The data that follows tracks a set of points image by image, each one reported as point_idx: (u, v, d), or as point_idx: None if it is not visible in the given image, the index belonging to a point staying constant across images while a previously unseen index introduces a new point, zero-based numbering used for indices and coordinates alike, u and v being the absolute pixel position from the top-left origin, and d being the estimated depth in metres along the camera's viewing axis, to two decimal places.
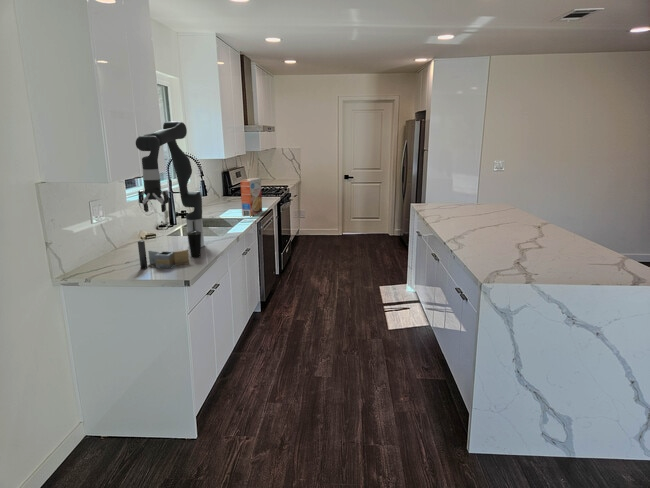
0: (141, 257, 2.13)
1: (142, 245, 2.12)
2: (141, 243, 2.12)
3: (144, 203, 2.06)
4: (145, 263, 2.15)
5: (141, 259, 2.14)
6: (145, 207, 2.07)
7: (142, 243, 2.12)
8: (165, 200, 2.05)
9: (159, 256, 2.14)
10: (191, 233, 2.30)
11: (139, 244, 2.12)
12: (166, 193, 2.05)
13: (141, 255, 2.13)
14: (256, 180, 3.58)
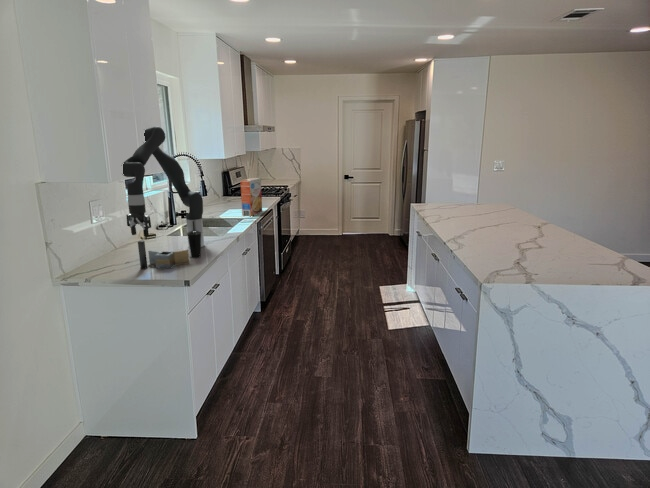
0: (141, 257, 2.13)
1: (142, 245, 2.12)
2: (141, 243, 2.12)
3: None
4: (145, 263, 2.15)
5: (141, 259, 2.14)
6: None
7: (142, 243, 2.12)
8: None
9: (159, 256, 2.14)
10: (191, 233, 2.30)
11: (139, 244, 2.12)
12: None
13: (141, 255, 2.13)
14: (256, 180, 3.58)
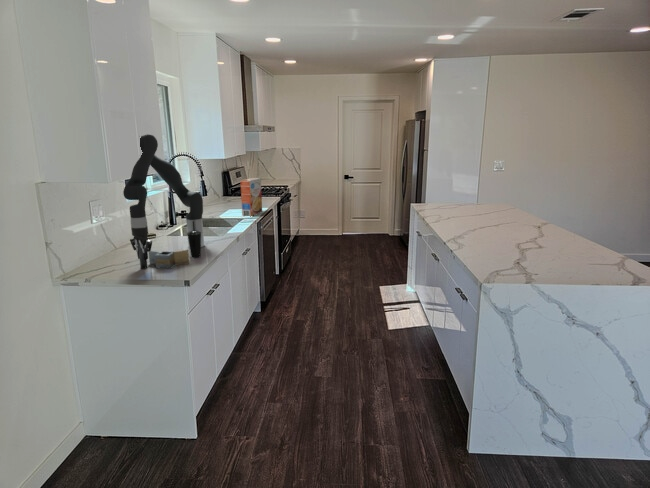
0: (141, 257, 2.13)
1: None
2: None
3: None
4: (145, 263, 2.15)
5: (141, 259, 2.14)
6: None
7: None
8: None
9: (159, 256, 2.14)
10: (191, 233, 2.30)
11: (139, 244, 2.12)
12: None
13: (141, 255, 2.13)
14: (256, 180, 3.58)
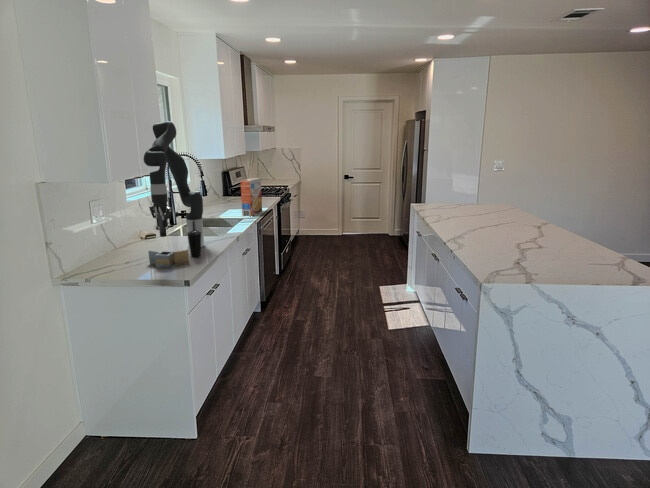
0: (160, 225, 2.12)
1: None
2: None
3: None
4: (164, 231, 2.14)
5: (160, 227, 2.12)
6: None
7: None
8: None
9: (159, 256, 2.14)
10: (191, 233, 2.30)
11: (159, 211, 2.11)
12: None
13: (160, 223, 2.12)
14: (256, 180, 3.58)
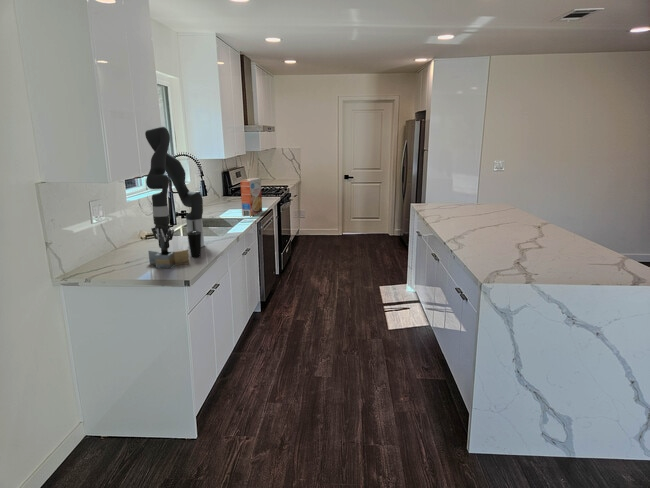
0: (162, 246, 2.15)
1: None
2: None
3: None
4: (166, 252, 2.16)
5: (162, 248, 2.15)
6: None
7: None
8: None
9: (159, 256, 2.14)
10: (191, 233, 2.30)
11: (161, 233, 2.13)
12: None
13: (162, 244, 2.15)
14: (256, 180, 3.58)
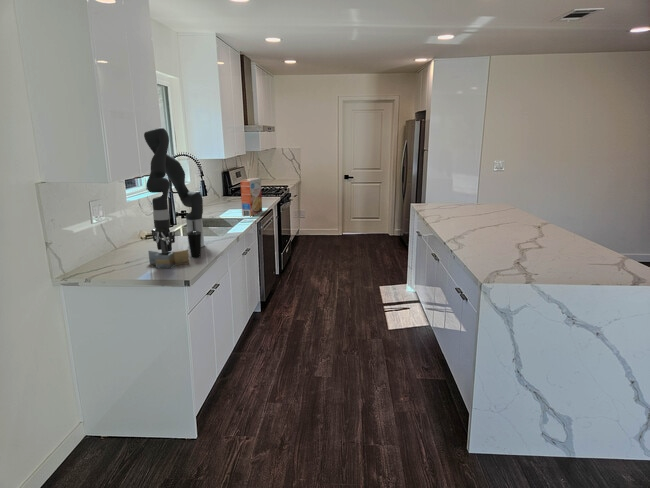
0: None
1: (165, 243, 2.15)
2: (164, 241, 2.15)
3: None
4: None
5: None
6: None
7: (165, 241, 2.15)
8: None
9: (159, 256, 2.14)
10: (191, 233, 2.30)
11: (162, 242, 2.15)
12: None
13: (164, 253, 2.16)
14: (256, 180, 3.58)
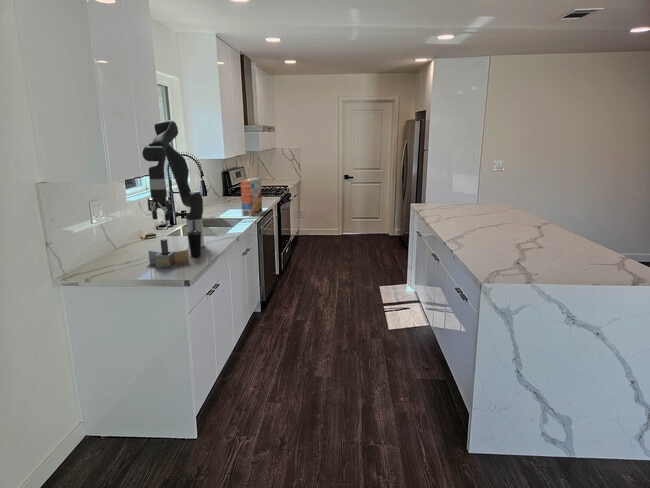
0: None
1: (165, 243, 2.15)
2: (164, 242, 2.15)
3: None
4: None
5: None
6: None
7: (165, 242, 2.15)
8: None
9: (159, 256, 2.14)
10: (191, 233, 2.30)
11: (162, 243, 2.15)
12: None
13: (164, 253, 2.16)
14: (256, 180, 3.58)
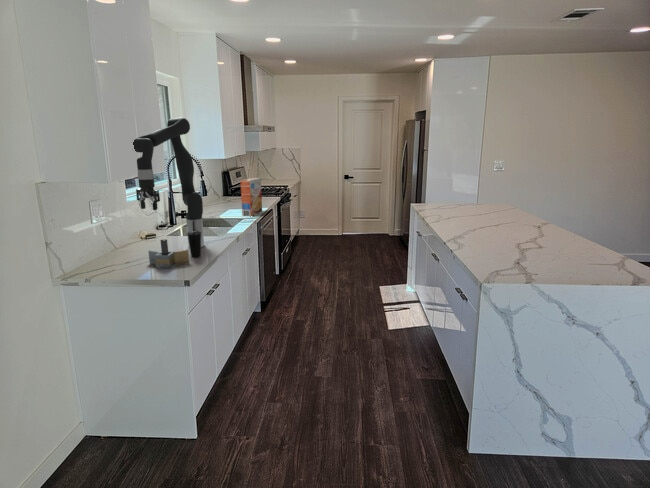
0: None
1: (165, 243, 2.15)
2: (164, 242, 2.15)
3: None
4: None
5: None
6: None
7: (165, 242, 2.15)
8: None
9: (159, 256, 2.14)
10: (191, 233, 2.30)
11: (162, 242, 2.15)
12: None
13: (164, 253, 2.16)
14: (256, 180, 3.58)
